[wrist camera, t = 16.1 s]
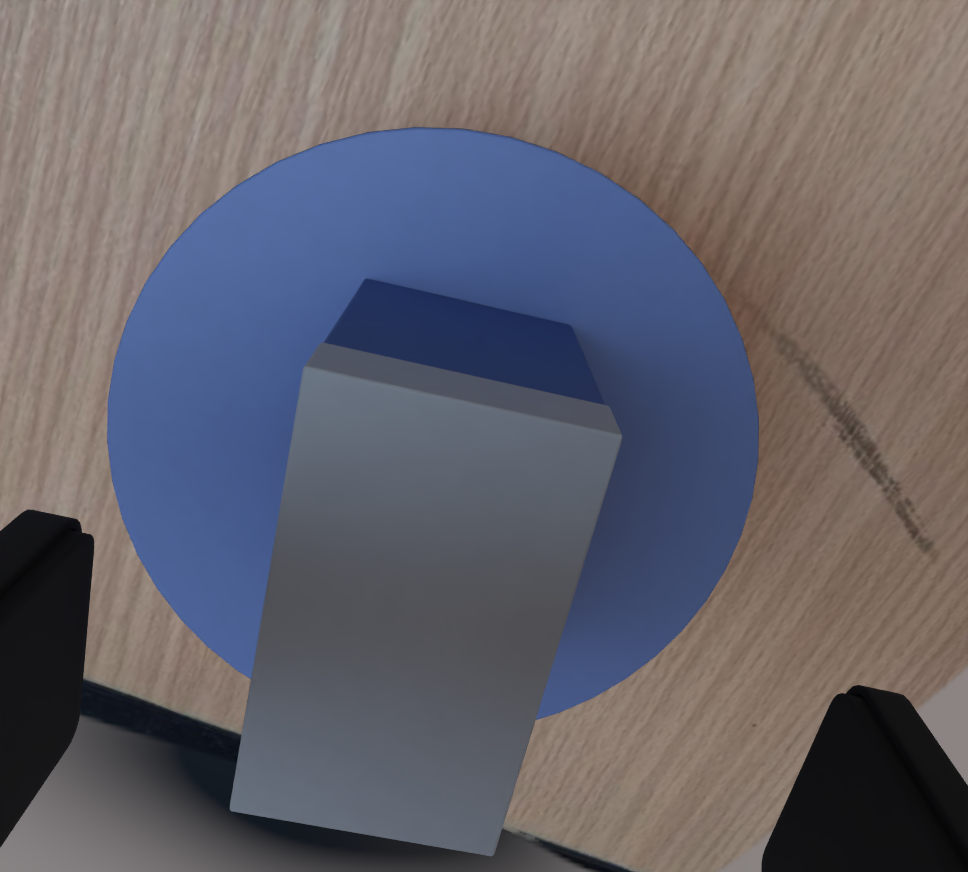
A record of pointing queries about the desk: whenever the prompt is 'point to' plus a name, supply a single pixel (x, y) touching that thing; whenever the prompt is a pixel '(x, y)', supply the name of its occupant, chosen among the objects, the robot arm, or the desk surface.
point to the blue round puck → (456, 274)
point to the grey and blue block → (421, 567)
